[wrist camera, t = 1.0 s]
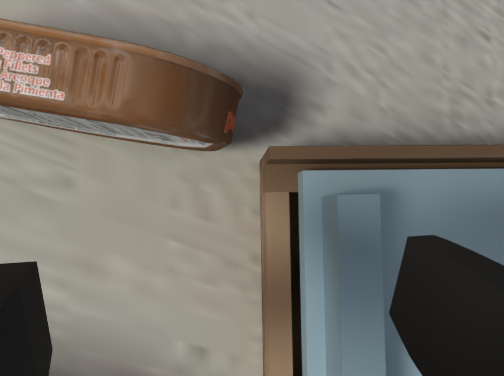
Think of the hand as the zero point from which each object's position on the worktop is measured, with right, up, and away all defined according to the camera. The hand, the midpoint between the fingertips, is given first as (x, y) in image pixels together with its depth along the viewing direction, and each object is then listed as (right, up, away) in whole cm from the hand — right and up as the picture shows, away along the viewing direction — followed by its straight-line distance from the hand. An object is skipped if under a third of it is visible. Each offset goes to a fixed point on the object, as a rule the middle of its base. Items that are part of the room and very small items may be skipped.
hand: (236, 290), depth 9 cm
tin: (-8, +6, +13) cm, 16 cm away
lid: (+8, -3, +10) cm, 14 cm away
